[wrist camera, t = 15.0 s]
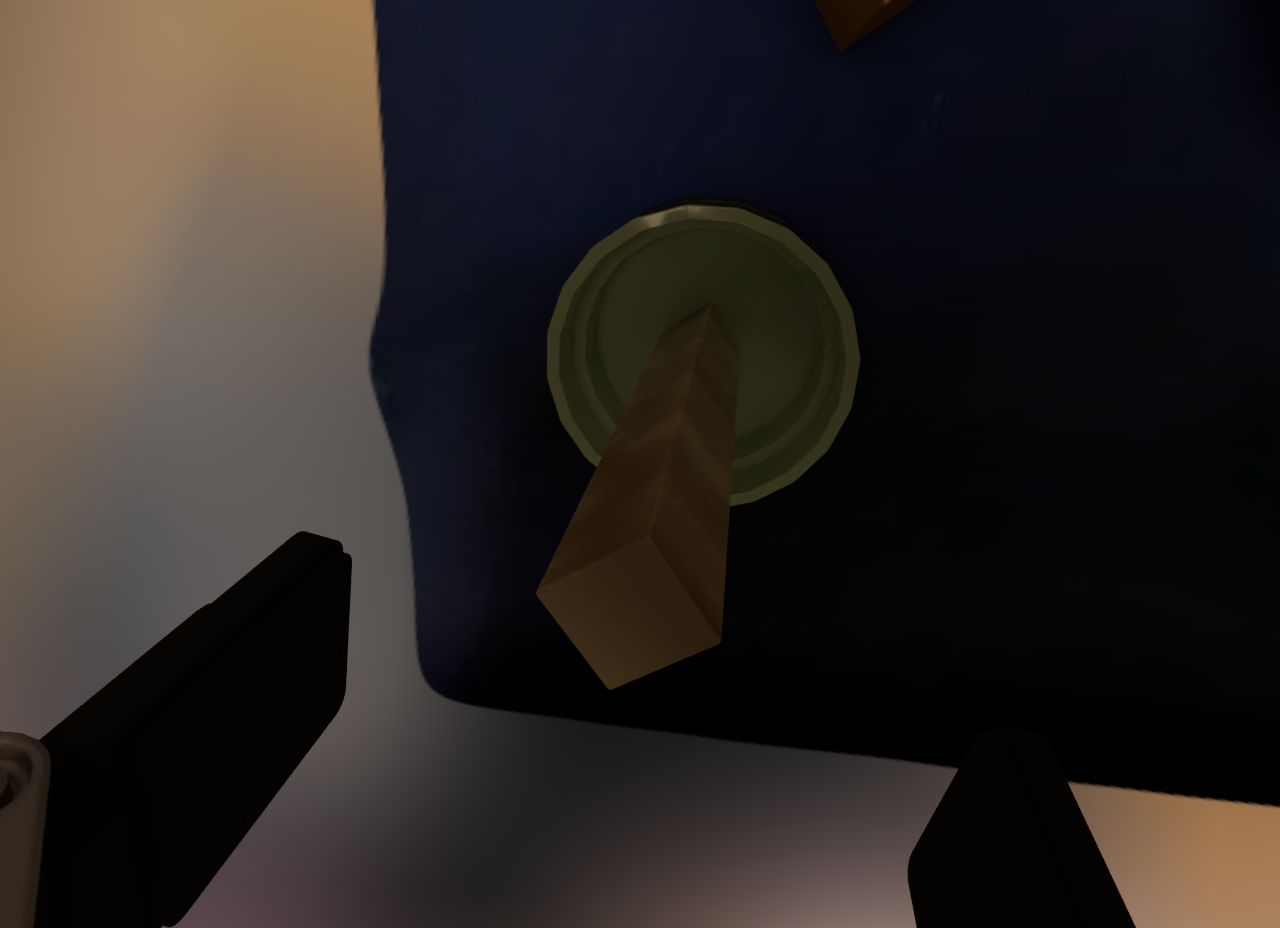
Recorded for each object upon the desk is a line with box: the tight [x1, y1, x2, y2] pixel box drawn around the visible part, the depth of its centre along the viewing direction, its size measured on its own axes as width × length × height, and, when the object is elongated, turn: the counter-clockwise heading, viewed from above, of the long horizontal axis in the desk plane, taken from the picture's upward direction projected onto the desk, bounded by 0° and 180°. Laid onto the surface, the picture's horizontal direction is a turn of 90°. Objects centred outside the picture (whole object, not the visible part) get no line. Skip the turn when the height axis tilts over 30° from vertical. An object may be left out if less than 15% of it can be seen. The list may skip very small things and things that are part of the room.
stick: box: [536, 302, 740, 690], centre depth 22 cm, size 2×2×20 cm
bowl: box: [547, 196, 860, 506], centre depth 29 cm, size 11×11×5 cm
